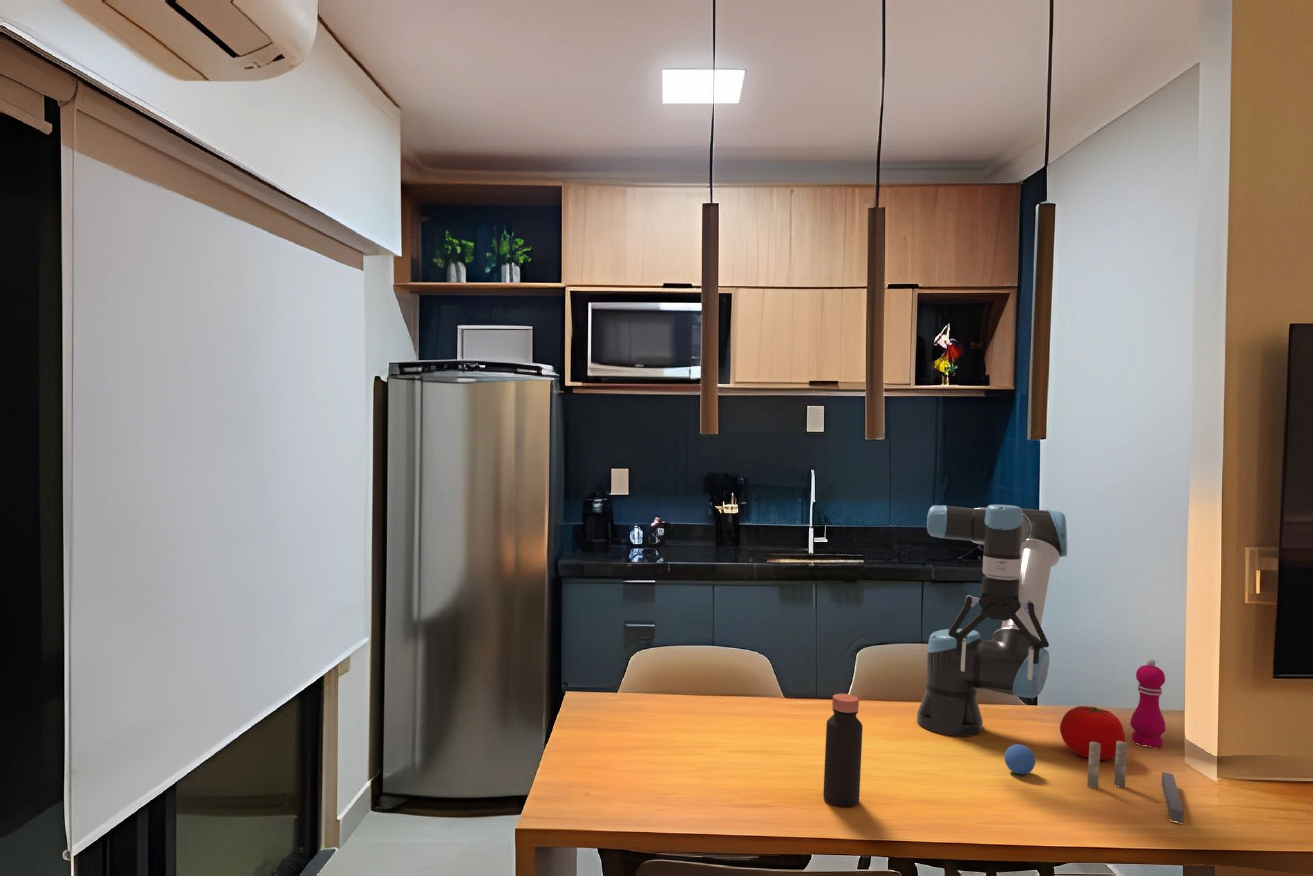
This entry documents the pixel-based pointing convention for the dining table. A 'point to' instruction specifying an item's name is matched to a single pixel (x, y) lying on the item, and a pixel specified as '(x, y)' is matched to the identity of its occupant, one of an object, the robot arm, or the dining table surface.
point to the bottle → (843, 753)
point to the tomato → (1091, 731)
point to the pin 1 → (1093, 764)
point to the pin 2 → (1120, 764)
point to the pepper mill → (1148, 706)
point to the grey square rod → (1172, 797)
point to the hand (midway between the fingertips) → (995, 674)
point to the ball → (1019, 759)
